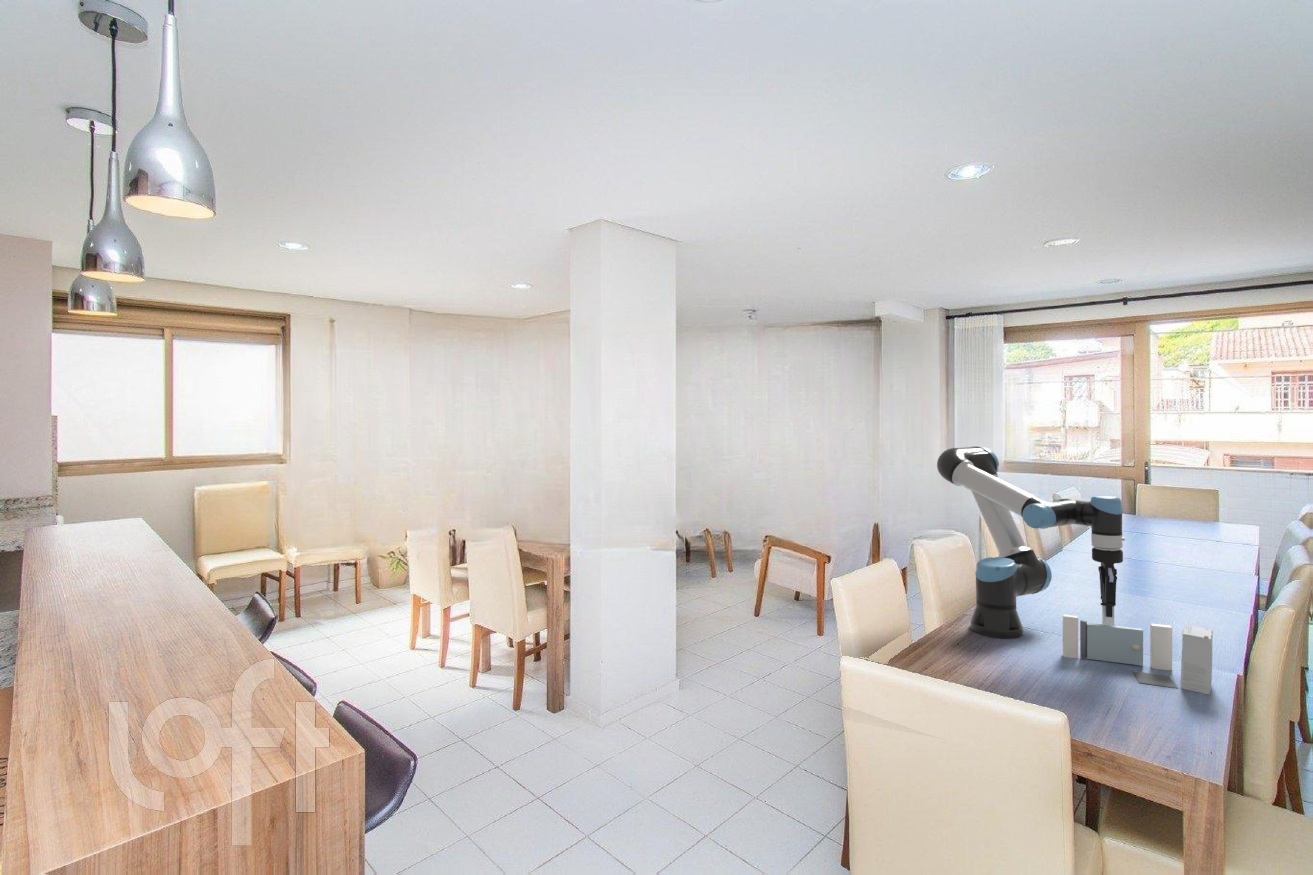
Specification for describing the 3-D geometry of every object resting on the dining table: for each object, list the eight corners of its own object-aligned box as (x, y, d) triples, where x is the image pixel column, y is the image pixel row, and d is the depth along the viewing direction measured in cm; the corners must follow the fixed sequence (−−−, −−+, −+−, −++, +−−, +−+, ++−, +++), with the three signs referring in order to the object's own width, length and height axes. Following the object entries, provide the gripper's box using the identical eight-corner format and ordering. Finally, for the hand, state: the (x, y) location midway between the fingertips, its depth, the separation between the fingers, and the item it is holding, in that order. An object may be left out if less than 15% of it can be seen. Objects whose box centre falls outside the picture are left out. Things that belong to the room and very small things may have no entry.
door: (1081, 659, 181) (1081, 623, 180) (1079, 655, 183) (1079, 619, 183) (1144, 667, 174) (1144, 630, 174) (1141, 663, 177) (1141, 626, 176)
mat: (1139, 683, 165) (1139, 682, 165) (1132, 671, 172) (1132, 670, 172) (1177, 688, 161) (1177, 687, 161) (1169, 676, 168) (1169, 675, 168)
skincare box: (1182, 678, 167) (1182, 623, 167) (1212, 684, 163) (1213, 628, 162) (1180, 689, 161) (1180, 632, 160) (1211, 695, 157) (1211, 637, 156)
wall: (1063, 656, 184) (1063, 616, 183) (1062, 654, 185) (1062, 614, 185) (1172, 670, 172) (1172, 627, 172) (1170, 667, 174) (1170, 625, 173)
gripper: (1127, 553, 178) (1128, 635, 179) (1118, 544, 190) (1119, 621, 190) (1095, 551, 182) (1097, 631, 182) (1088, 543, 193) (1089, 618, 194)
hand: (1108, 626), depth 186 cm, fingers closed
